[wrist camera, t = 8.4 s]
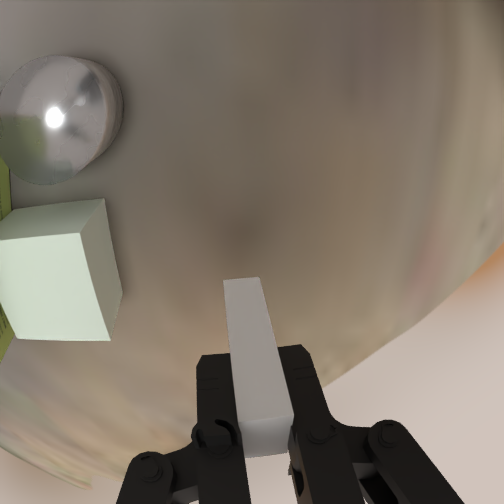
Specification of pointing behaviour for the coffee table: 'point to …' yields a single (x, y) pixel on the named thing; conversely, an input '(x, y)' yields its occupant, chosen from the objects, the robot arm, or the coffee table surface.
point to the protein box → (3, 332)
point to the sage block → (59, 272)
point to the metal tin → (58, 117)
